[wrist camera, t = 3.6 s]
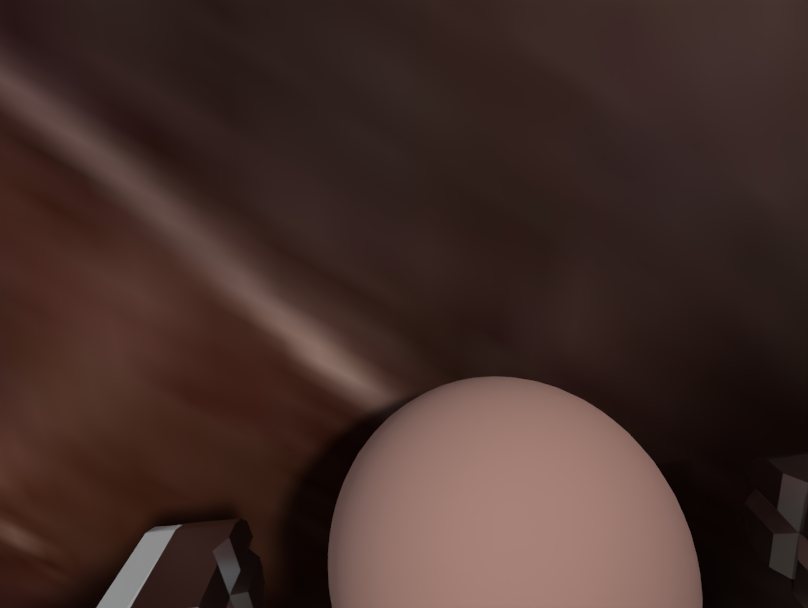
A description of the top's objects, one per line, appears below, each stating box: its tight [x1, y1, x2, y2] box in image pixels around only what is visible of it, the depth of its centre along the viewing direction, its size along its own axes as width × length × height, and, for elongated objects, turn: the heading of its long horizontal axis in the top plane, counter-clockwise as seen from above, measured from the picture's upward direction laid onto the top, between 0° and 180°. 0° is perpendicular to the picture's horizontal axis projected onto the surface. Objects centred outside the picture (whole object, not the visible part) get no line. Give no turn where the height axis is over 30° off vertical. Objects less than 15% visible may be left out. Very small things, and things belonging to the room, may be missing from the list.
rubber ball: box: [328, 376, 703, 608], centre depth 7 cm, size 5×5×5 cm
